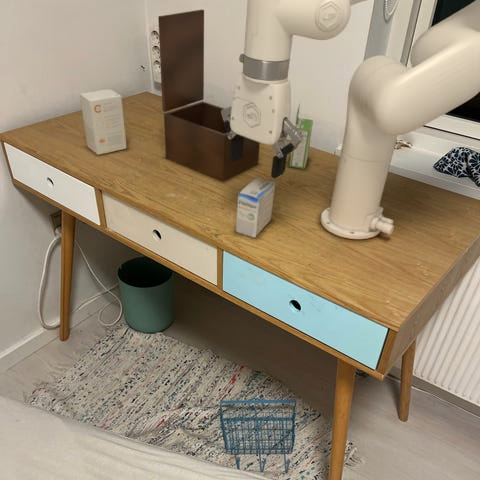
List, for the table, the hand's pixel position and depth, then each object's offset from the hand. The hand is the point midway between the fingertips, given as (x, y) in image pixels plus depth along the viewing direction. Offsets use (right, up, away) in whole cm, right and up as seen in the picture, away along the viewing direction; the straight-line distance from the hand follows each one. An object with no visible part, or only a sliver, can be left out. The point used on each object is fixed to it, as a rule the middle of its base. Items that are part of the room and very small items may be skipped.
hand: (256, 167), depth 94 cm
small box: (-37, +15, +34) cm, 53 cm away
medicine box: (0, -10, +8) cm, 13 cm away
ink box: (+12, +11, +33) cm, 37 cm away
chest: (-10, +11, +31) cm, 35 cm away
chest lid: (-16, +31, +22) cm, 41 cm away
